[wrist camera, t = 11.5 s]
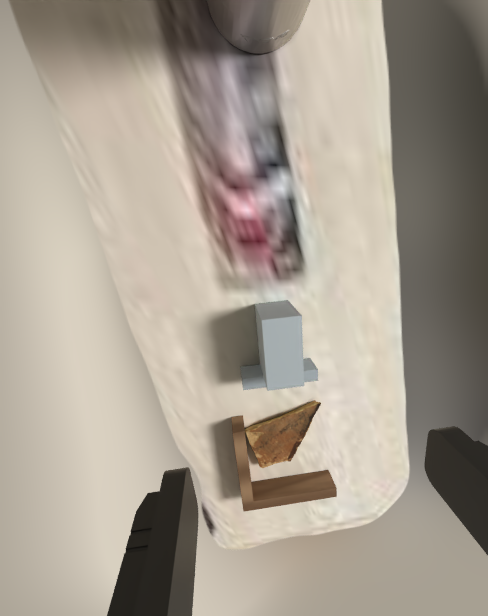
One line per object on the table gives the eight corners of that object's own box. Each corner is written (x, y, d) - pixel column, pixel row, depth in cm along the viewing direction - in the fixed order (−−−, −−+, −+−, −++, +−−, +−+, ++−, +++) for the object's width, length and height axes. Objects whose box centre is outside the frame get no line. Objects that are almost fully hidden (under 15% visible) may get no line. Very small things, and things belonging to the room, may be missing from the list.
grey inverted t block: (233, 306, 33) (236, 323, 28) (308, 297, 34) (326, 312, 28) (241, 377, 36) (245, 405, 30) (310, 368, 37) (327, 394, 31)
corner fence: (231, 417, 38) (232, 432, 35) (326, 403, 38) (335, 417, 35) (242, 491, 41) (243, 511, 38) (328, 477, 42) (336, 496, 39)
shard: (317, 396, 38) (321, 404, 37) (331, 438, 41) (336, 447, 39) (242, 423, 39) (244, 433, 37) (261, 464, 41) (262, 474, 39)
